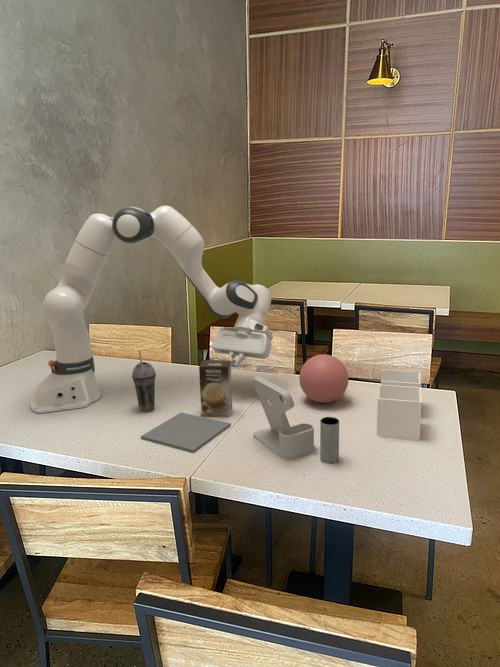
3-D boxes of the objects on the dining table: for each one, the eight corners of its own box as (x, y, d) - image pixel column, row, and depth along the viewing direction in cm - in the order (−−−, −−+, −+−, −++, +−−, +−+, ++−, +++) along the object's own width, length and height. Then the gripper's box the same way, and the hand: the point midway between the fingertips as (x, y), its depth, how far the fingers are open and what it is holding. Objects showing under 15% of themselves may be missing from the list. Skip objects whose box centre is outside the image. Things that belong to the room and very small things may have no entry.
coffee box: (200, 416, 149) (197, 366, 145) (204, 408, 155) (201, 359, 151) (230, 417, 148) (228, 366, 144) (233, 408, 154) (231, 359, 150)
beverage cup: (163, 407, 157) (158, 347, 152) (149, 415, 151) (144, 353, 146) (144, 403, 160) (139, 345, 155) (130, 412, 154) (124, 351, 149)
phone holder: (318, 451, 126) (319, 385, 121) (286, 462, 121) (285, 393, 117) (281, 426, 141) (280, 366, 136) (250, 435, 136) (248, 373, 131)
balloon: (360, 393, 163) (361, 348, 160) (335, 414, 147) (336, 365, 144) (318, 385, 172) (318, 343, 168) (290, 404, 156) (290, 358, 152)
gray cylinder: (318, 455, 124) (318, 417, 121) (336, 453, 124) (336, 416, 122) (322, 464, 119) (322, 425, 117) (340, 462, 120) (341, 423, 117)
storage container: (419, 441, 130) (421, 402, 127) (376, 436, 133) (377, 398, 130) (418, 405, 153) (419, 371, 150) (381, 401, 156) (382, 369, 153)
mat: (181, 414, 151) (180, 412, 151) (230, 425, 142) (230, 423, 142) (141, 438, 136) (140, 436, 136) (193, 452, 127) (193, 450, 127)
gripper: (217, 322, 166) (202, 357, 160) (271, 327, 155) (257, 365, 150) (225, 331, 170) (210, 366, 165) (277, 337, 160) (264, 374, 155)
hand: (233, 366), depth 157 cm, fingers closed
